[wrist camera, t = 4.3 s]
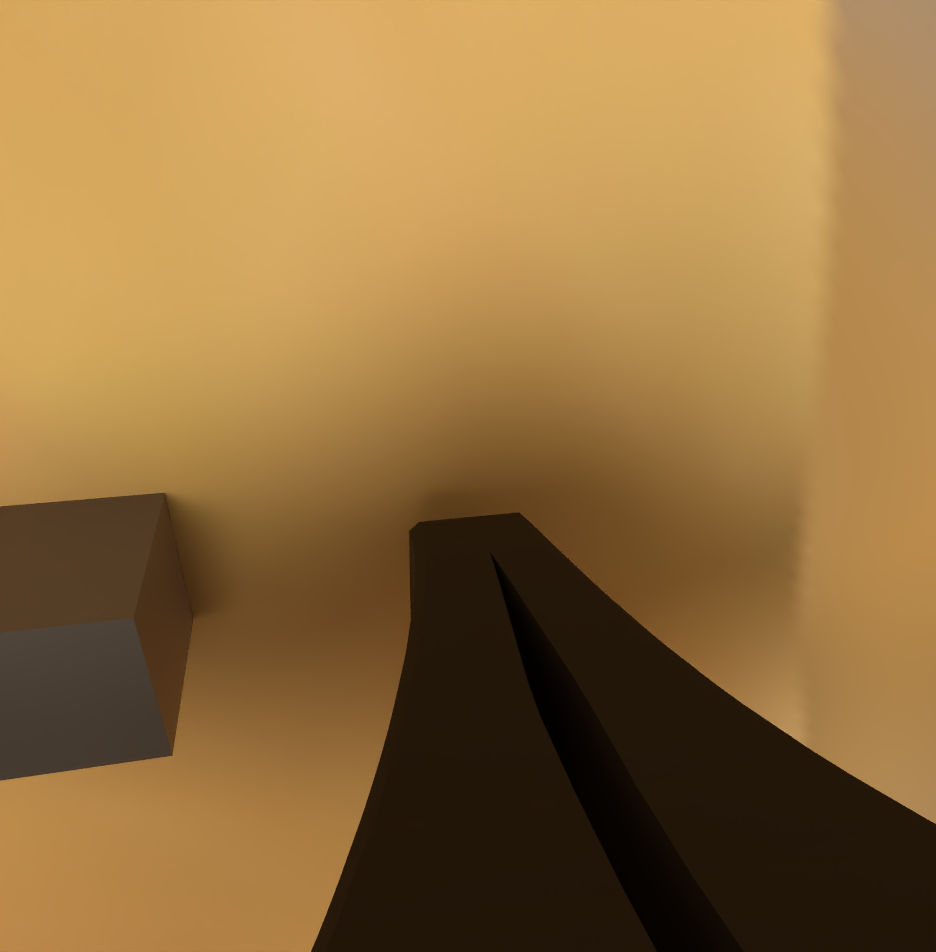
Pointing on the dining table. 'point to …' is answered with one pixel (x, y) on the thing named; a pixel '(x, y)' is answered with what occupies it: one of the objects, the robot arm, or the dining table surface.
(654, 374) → the dining table surface
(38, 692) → the plug
